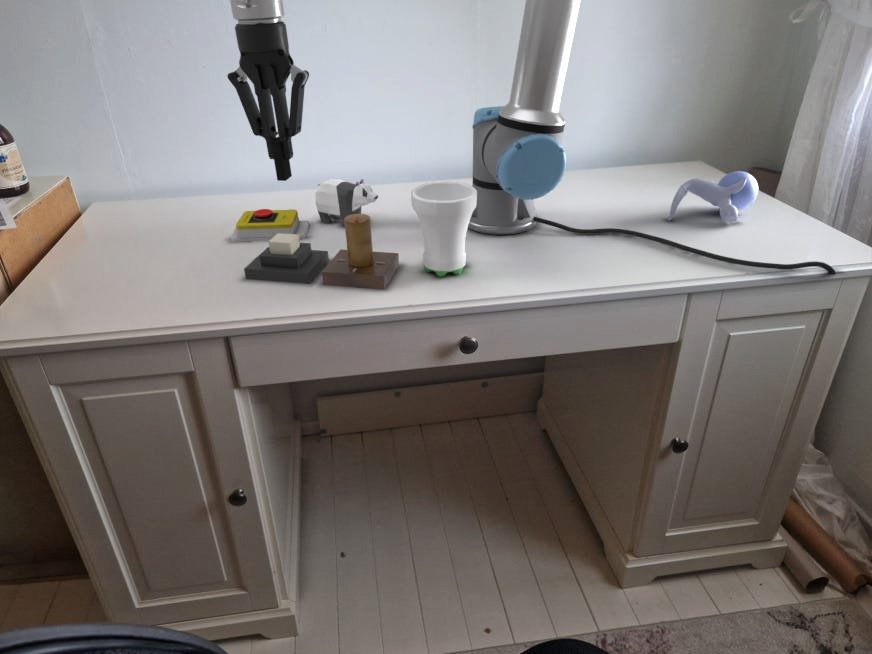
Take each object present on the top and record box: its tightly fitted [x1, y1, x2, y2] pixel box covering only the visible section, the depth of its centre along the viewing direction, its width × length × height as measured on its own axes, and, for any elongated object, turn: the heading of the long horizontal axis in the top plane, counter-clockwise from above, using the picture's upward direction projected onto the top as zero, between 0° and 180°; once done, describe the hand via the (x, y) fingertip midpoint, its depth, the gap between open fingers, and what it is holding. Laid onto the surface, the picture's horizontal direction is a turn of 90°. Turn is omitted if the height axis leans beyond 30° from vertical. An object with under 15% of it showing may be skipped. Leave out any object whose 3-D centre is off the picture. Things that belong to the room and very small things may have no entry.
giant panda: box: [315, 178, 379, 227], centre depth 131 cm, size 15×6×10 cm, turn 62°
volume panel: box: [321, 249, 400, 290], centre depth 111 cm, size 11×10×3 cm
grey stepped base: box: [243, 242, 330, 285], centre depth 113 cm, size 12×10×4 cm
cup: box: [410, 181, 477, 278], centre depth 109 cm, size 11×11×14 cm
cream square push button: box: [268, 233, 301, 255], centre depth 112 cm, size 4×4×3 cm
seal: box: [667, 170, 759, 224], centre depth 131 cm, size 8×12×20 cm
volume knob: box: [344, 213, 374, 267], centre depth 108 cm, size 4×4×8 cm
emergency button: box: [229, 208, 311, 243], centre depth 129 cm, size 9×4×15 cm
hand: (284, 178), depth 107 cm, fingers closed
